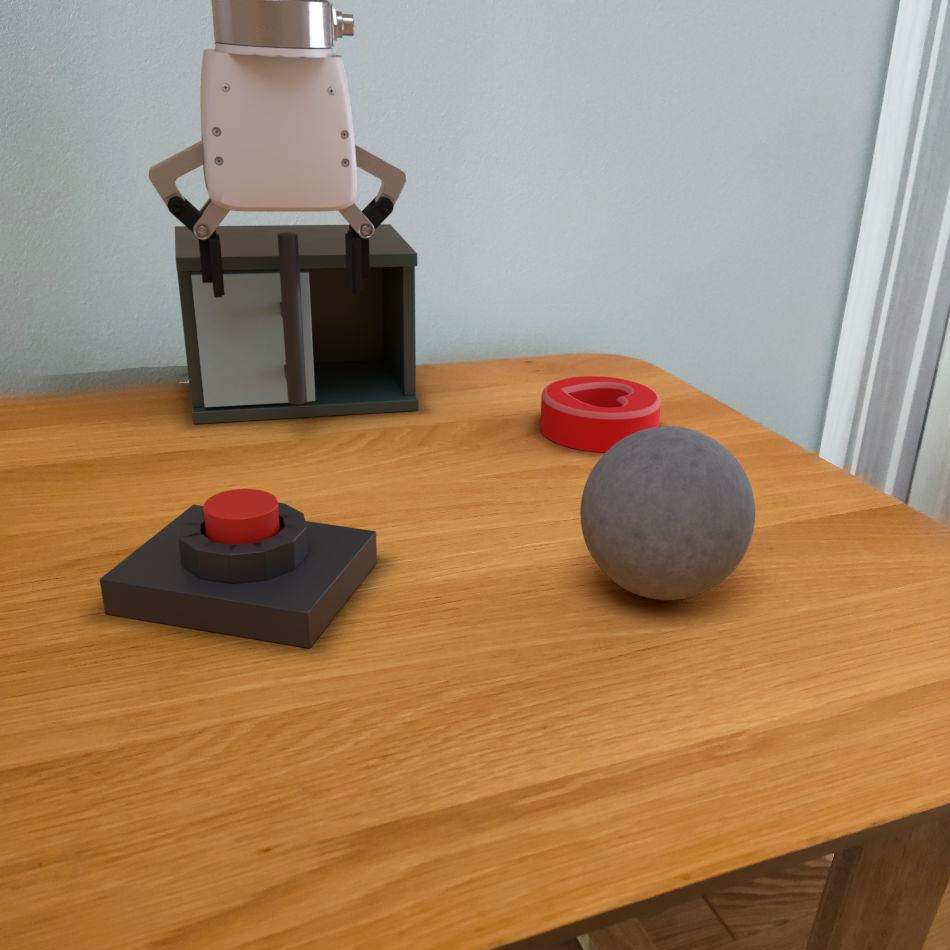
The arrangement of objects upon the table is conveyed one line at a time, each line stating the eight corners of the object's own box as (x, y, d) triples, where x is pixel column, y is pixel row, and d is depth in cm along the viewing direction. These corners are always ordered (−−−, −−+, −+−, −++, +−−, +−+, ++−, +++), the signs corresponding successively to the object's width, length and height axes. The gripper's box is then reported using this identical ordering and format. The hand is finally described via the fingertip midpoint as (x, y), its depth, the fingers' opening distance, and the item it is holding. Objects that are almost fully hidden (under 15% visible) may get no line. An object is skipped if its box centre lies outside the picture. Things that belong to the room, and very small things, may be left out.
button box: (104, 614, 58) (94, 549, 56) (196, 535, 67) (190, 477, 65) (309, 648, 56) (306, 582, 54) (377, 563, 65) (375, 503, 63)
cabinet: (193, 424, 83) (175, 257, 78) (190, 376, 94) (174, 226, 88) (418, 410, 89) (417, 253, 83) (392, 367, 99) (390, 224, 93)
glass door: (206, 431, 79) (186, 237, 72) (204, 405, 84) (185, 220, 77) (323, 424, 81) (314, 235, 75) (314, 398, 86) (305, 219, 80)
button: (192, 541, 58) (189, 513, 57) (227, 512, 62) (225, 484, 61) (260, 552, 57) (257, 523, 57) (291, 521, 61) (289, 493, 60)
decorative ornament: (531, 410, 90) (533, 375, 89) (642, 409, 92) (645, 374, 90) (550, 453, 82) (552, 414, 80) (671, 451, 83) (675, 413, 82)
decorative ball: (771, 623, 60) (799, 461, 56) (605, 641, 58) (620, 472, 53) (703, 544, 69) (722, 398, 64) (555, 557, 66) (564, 405, 62)
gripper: (394, 33, 75) (396, 277, 82) (133, 21, 70) (162, 281, 77) (415, 38, 68) (415, 301, 76) (130, 25, 63) (161, 308, 71)
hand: (287, 291), depth 77 cm, fingers open, 9 cm apart
